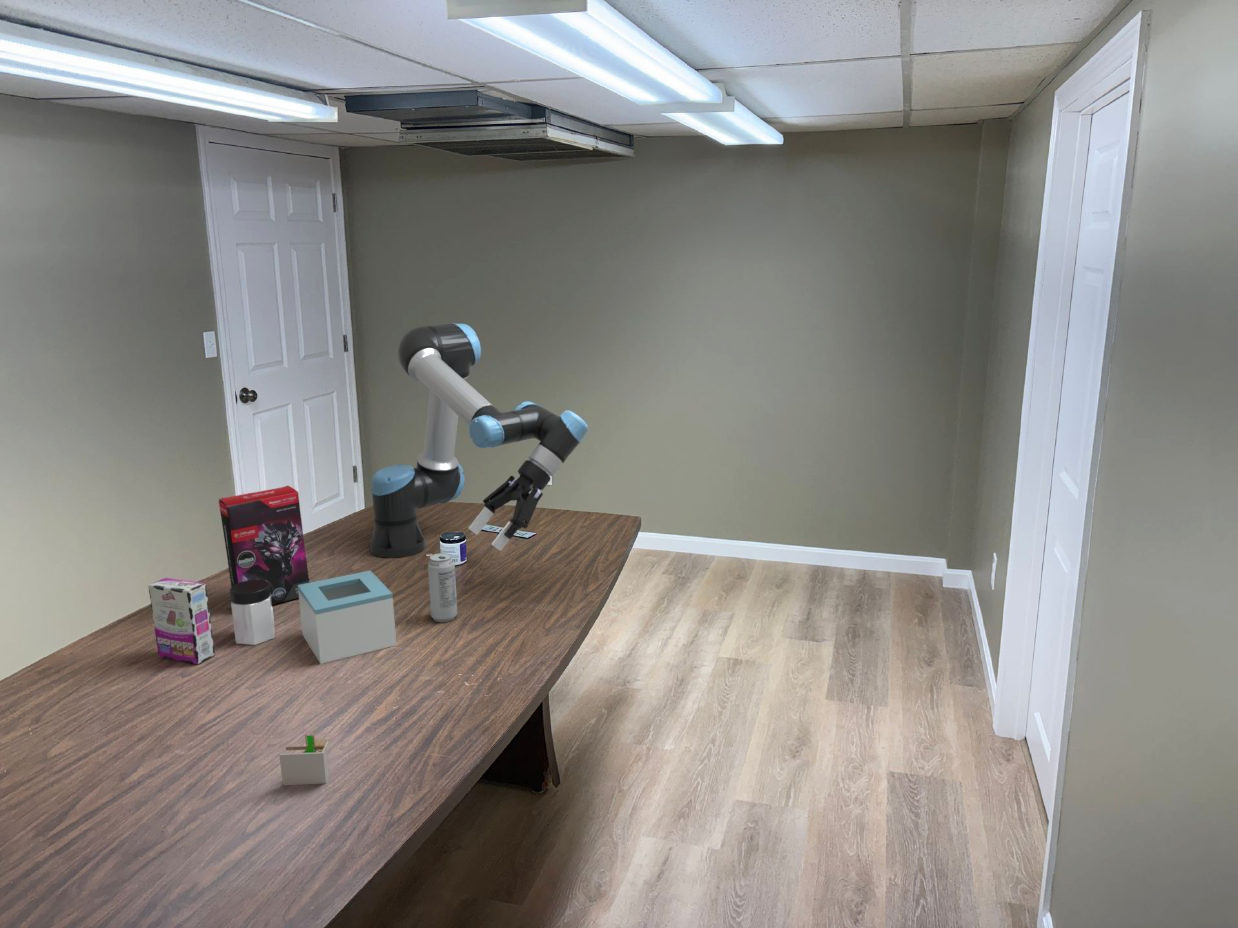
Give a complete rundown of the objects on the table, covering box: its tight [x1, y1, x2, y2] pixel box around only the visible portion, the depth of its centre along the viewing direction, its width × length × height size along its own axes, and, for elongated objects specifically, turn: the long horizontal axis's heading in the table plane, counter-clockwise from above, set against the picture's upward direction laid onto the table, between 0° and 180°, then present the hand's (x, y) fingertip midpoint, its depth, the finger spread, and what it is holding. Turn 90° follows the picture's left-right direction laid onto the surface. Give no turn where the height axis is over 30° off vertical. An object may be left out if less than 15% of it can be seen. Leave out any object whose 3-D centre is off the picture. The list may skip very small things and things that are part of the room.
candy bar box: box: [147, 577, 216, 665], centre depth 182 cm, size 11×5×16 cm, turn 70°
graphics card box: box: [218, 485, 310, 606], centre depth 209 cm, size 17×7×27 cm, turn 131°
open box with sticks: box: [279, 734, 331, 786], centre depth 141 cm, size 4×7×8 cm, turn 94°
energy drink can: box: [427, 552, 458, 623], centre depth 200 cm, size 6×6×15 cm
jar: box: [229, 580, 276, 646], centre depth 192 cm, size 9×8×12 cm
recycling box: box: [298, 570, 397, 665], centre depth 190 cm, size 16×16×12 cm
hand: (483, 539), depth 203 cm, fingers open, 13 cm apart
